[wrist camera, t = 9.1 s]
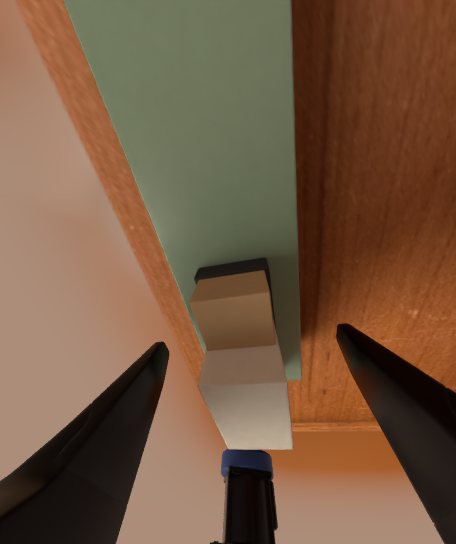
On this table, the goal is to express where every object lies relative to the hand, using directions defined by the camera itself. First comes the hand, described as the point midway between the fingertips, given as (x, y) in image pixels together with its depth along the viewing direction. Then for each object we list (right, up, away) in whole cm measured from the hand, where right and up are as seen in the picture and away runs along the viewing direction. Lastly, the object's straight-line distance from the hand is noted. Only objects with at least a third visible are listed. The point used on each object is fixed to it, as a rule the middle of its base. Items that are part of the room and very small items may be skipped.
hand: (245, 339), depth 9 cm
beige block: (0, 0, +1) cm, 1 cm away
